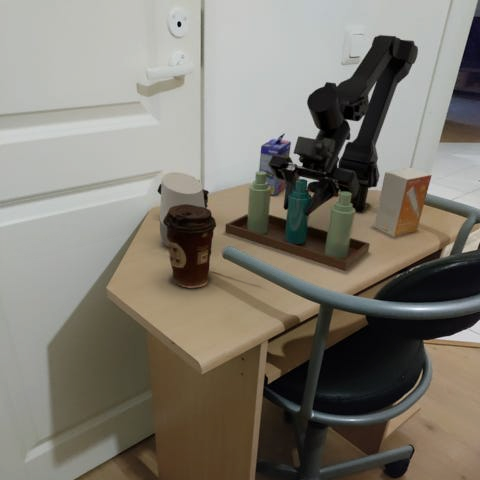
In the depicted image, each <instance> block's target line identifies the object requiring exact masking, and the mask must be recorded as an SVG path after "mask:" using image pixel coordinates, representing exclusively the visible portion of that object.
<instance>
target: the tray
mask: <svg viewBox="0 0 480 480" xmlns="http://www.w3.org/2000/svg"><path fill="white" fill-rule="evenodd" d="M247 219H248V213H246V214H244V215H242V216H240V217H237V218H236V219H234V220H232V221H230V222H228V223H225V233H226V234H228V235H233V236H234V237H235V236H236V237H239V238H241V239H245V240H247V241H251V242H254V243H257V244H261V245H264V246H267V247H269V248H272V249H274V250H275V249H276V250H279V251H282V252H285V253H288V254H291V255H294V256H297V257H300V258H304V259H306V260H309V261H312V262H315V263H318V264H322V265H325V266H327V267H331V268H334V269H337V270H340V271H343V272H345V271H347V270H348V269H349V268H351V267H352V266H353V265H354V264H355V263H356V262H357V261H359V260H360V259H361V258H363V257H364V256H365V255H366V254H368V253H369V250H370V246H371V243H369V242H366V241H363V240H359V239H355V238H352V237H351V239H350V244H349V250H348V255H347V257H346V258H344V259H339V258H336V257H332V256H329V255H326V254H325V253H324V252H325V245H326V239H327V232H328V230H324V229H322V228H318V227H314V226H311V225H308V233H307V241H306V242H305V243H303V244H291V243H288V242H286V241H285V230H286V219H287V218H282V217H279V216H276V215H273V214H269V223H268V231H267V232H266V233H263V234H259V233H256V232H253V231H249V230H247Z"/></svg>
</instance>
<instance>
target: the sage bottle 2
mask: <svg viewBox="0 0 480 480" xmlns="http://www.w3.org/2000/svg"><path fill="white" fill-rule="evenodd" d="M351 195H352V194H351V193H350V192H340V191H339V196H338V201H335V204H334V205H331V207H330V212H329V217H328V219H329V220H328V226H327V231H328V232H327V239H326V245H325V252H324V253H325V254H326V255H329V256H332V257H336V258H339V259H344V258H346V257H347V255H348V250H349V244H350V239H351V238H352V233H353V227H354V220H355V215H356V211H355V209H354V208H353V207H352V206H353V205H352V203H350V201H351Z"/></svg>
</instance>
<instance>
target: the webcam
mask: <svg viewBox="0 0 480 480" xmlns="http://www.w3.org/2000/svg"><path fill="white" fill-rule="evenodd" d="M337 168H338V163H334V165H333V167H332V170H331V172H330V173H333V174H334V172H335V169H337ZM318 182H319V181H317V180H313V181H310V182H309V183H307V190H308V191H309V192H312V193H315V191H316V189H317V186H318Z"/></svg>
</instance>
